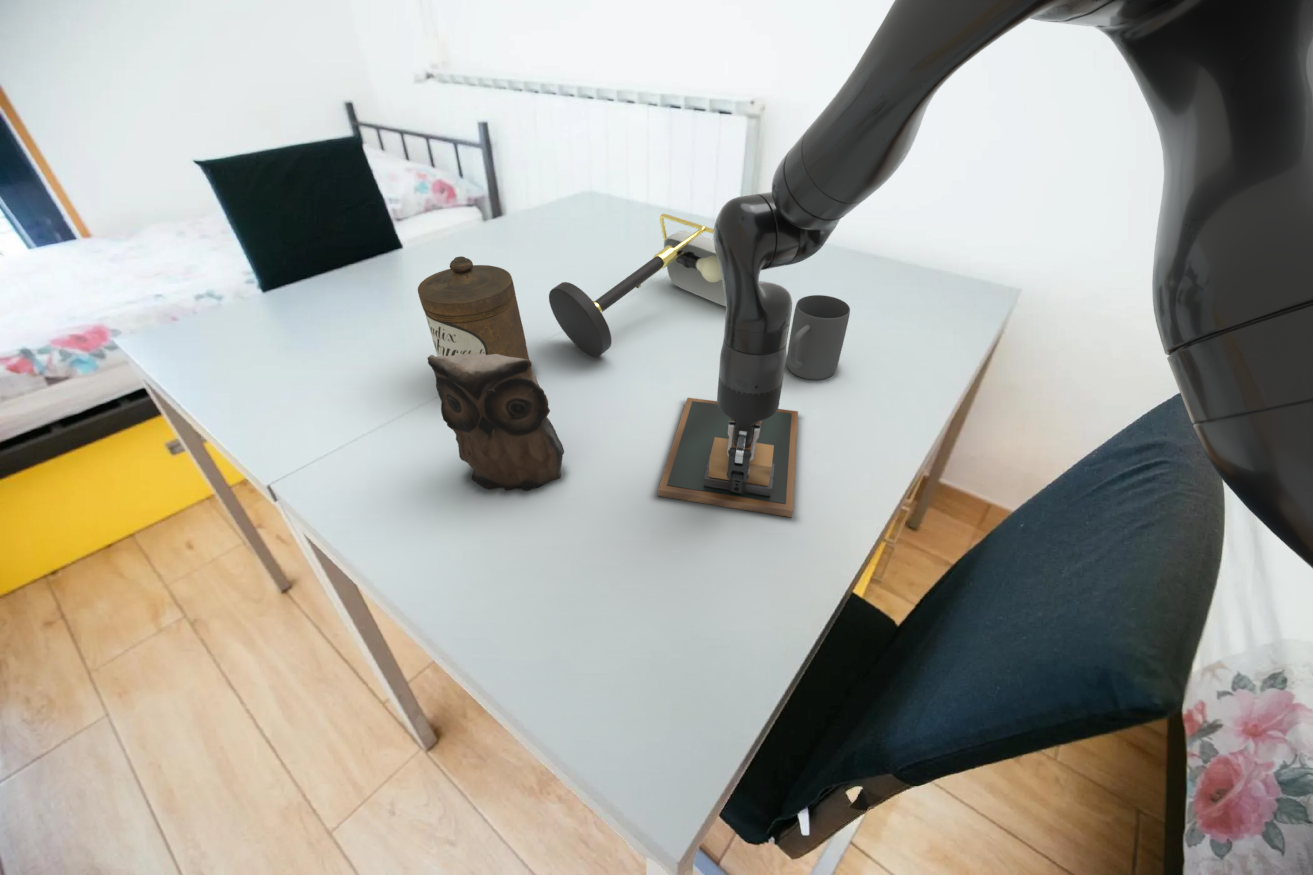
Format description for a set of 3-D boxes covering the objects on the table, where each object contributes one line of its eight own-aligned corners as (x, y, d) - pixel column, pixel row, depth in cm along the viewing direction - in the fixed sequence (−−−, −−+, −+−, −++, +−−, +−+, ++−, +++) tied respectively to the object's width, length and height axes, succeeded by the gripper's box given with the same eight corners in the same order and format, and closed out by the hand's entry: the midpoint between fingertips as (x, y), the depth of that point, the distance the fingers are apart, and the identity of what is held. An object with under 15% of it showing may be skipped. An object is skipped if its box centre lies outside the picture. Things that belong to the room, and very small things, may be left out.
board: (796, 417, 87) (798, 410, 86) (791, 517, 71) (793, 509, 70) (687, 403, 91) (687, 396, 90) (658, 496, 74) (658, 488, 73)
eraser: (773, 471, 76) (777, 444, 72) (770, 496, 72) (775, 469, 69) (709, 461, 77) (711, 434, 74) (703, 486, 73) (705, 458, 70)
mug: (800, 348, 104) (811, 290, 96) (845, 365, 99) (860, 304, 92) (762, 379, 96) (771, 317, 88) (809, 398, 91) (822, 335, 84)
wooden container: (430, 382, 96) (390, 261, 82) (497, 348, 105) (471, 234, 91) (481, 413, 89) (446, 287, 75) (548, 374, 98) (529, 255, 84)
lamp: (643, 412, 102) (774, 298, 117) (614, 316, 85) (771, 196, 100) (558, 359, 117) (684, 264, 131) (519, 268, 100) (668, 170, 114)
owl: (571, 479, 77) (553, 357, 64) (487, 518, 71) (448, 394, 58) (533, 433, 85) (509, 317, 72) (454, 465, 79) (414, 346, 66)
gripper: (779, 413, 57) (762, 520, 68) (786, 346, 68) (770, 447, 79) (709, 404, 59) (703, 510, 70) (727, 339, 69) (719, 440, 80)
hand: (738, 476), depth 74 cm, fingers closed on eraser, 5 cm apart
